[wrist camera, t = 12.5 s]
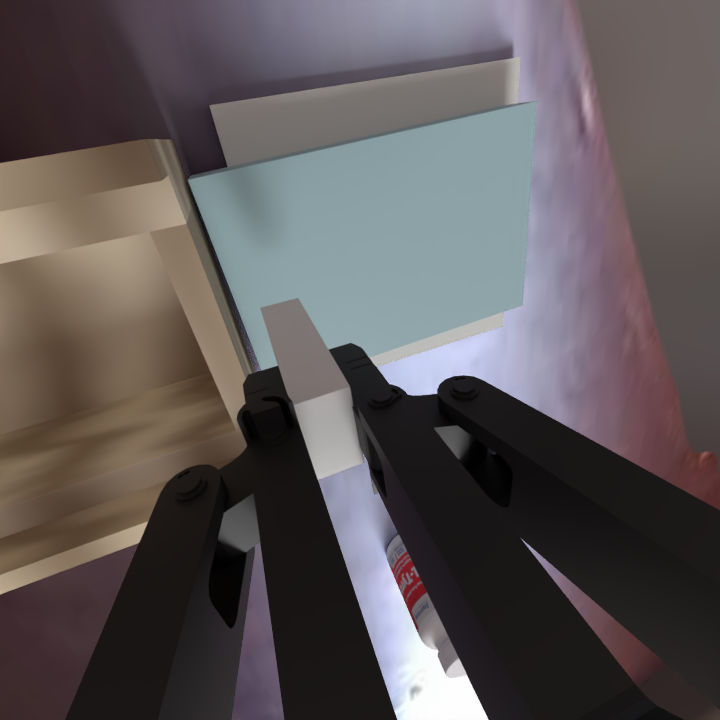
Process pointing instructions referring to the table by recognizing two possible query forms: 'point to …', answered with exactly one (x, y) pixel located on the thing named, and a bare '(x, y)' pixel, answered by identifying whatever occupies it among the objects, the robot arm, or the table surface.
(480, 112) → the lid
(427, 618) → the pill bottle
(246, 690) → the table surface
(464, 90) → the mat
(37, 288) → the box
